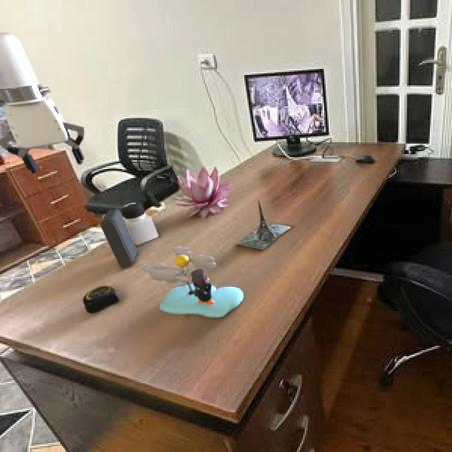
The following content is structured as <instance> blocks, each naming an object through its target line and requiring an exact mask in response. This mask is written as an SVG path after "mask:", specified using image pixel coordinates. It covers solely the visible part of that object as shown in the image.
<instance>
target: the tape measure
mask: <svg viewBox="0 0 452 452" xmlns="http://www.w3.org/2000/svg"><path fill="white" fill-rule="evenodd" d="M82 303H83V306H84V309H85V312H86V313H88V314H90V315H91V314H96V313H98V312H100V311H102V310H104V309H106V308H109V307H110V306H112V305H115V304H118V303H120V299H119V297H118V295H117V293H116V290H115V288H114V287H113V286H110V285H101V286H97V287H95V288H93V289H91V290H89V291H88V292H87V293H85V295H84V296H83V298H82Z"/></svg>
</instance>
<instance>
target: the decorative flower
mask: <svg viewBox="0 0 452 452" xmlns="http://www.w3.org/2000/svg"><path fill="white" fill-rule="evenodd" d="M176 177H177V183H178V186H179V188H180V190H181V192H182V193H183V194H184V195H185V196H186V197H188V198H183V197H178V196H175V195H173V194H172V195H171V194H170V196H171V197H172V198H174V199H176V200H178V201H181V202H184V204H183V203H176V202H174V203H173V204H174V205H175V206H180V207H191V208H188V209H186V210H184V212H190V211H192V212H191V213H190V214H189V215H188V216H187V217H186V219H187V218H190V217H193V216H194V215H196V214H197V213H198V216H200V218H201V220H203V219H204V218H206V217H207V216H208V215H209V212H211V213H212V214H214V215H216V214H223V210H222V208H226V207H230V206H232V204H230V203H229V202H226V201H227V200H228V199H227V198H226V197H228V196H229V195H230V194H231V193H232V192H233V190H234V189H235V186H233V187H230V188H228V185H229V181H230V180H229V179H227V180H225V181H224V182H223V183H221V184H220V175H219V171H218V168H217V166H215V167H213V170H212V171H211V173H210V174H209V172H208V171H207V168H206V167H205V165H202V166H201V169H200V170H199V173H198V177H197V179H196V178H195V176H194V174H193V173H192V172H191V171H190V170H189V169H187V170H186V183H187V185H186V184H184V182H183V181H182V180H181V179H180V178H179V176H178V175H177V176H176ZM227 188H228V189H227ZM186 203H187V204H186Z"/></svg>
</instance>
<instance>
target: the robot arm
mask: <svg viewBox="0 0 452 452" xmlns="http://www.w3.org/2000/svg"><path fill="white" fill-rule="evenodd" d="M47 94H51V89H50V87H49V86H43V85H41V84H40V83H39V80H38V78H37V76H36V74H35V71H34V69H33V68H32V65H31V63H30V61H29V59H28V57H27V55H26V53H25V50H24V48H23V45H22V44H21V42H20V40H19V38H18V37H17V36H16V35H14V34H13V33H9V32H0V97H1V98H2V101H3V103H4V104H3V105H2V109H3V113H4V116H5V119H6V122H7V125H8V128H9V129H10V132H8V133H7V134H6V135H4V136H3V137H1V138H0V147H2V148H3V149H4V150H6V151H7V152H8V153H10V154H11V155H14V156H17V157H18V158H19V159H21V160H22V162H23V164H24V166H25V168H26V169H27V170H28V171H30V172H31V174H36V173H37V172H38V171H39V167H38V165H37V163H36V160H35V159H34V157H33V155H31V154H30V153H29V151H30V149H34V148H35V149H36V148H40V147H46V146H53V145H58V144H62V143H64V144H66V145H67V146H69V147H71V152H72V154H73V157H74V159H75V161H76V163H77V165H79V166H81V165H82V164H83V163H84V160H85V157H84V154H83V152H82V150H81V147H80V146H81V144H82V142H83V140H84V139H85V133H86V128H85V127H84V126H81V125H76V124H73V123H69V122H66V121H65V120H64V118H63V116H62V114H61V112H60V111H59V109H58V107H57V106H56V104H55V103H54V101H53V99H52V98H49V97H47V96H46V95H47ZM46 97H47V98H46ZM70 131H73V132H76V133H77V135H76V138H72V137H71V132H70ZM13 139H14V140H15V143H16V144H17V145H18V146H19V147H20V148H18V147H16V146H13V145H12V144H11V143H10V141H12V140H13Z"/></svg>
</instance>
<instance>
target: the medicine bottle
mask: <svg viewBox="0 0 452 452" xmlns="http://www.w3.org/2000/svg"><path fill="white" fill-rule="evenodd" d="M143 205H144V204H142V203H141V202H131V203H128V204H126V205H124V206H122V207H121V210H120V212H121V214H122V216H123V219H124V221H125V223H126V226H127V228H128V230H129V233H130V235H131V237H132V240H133V242H134V244H135V246H136V247H137V246H138V247H139V246H140V245H143V244H145V243H148V242H150V241H152V240H154V239H156V238H159V232H158V229H157V227H156V226H155V222H154V219H153V217H151V216H150V215H148V214H147V213H146V211H145V207H144V206H143Z"/></svg>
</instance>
